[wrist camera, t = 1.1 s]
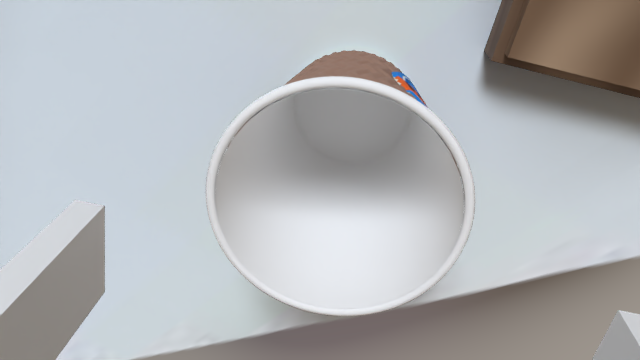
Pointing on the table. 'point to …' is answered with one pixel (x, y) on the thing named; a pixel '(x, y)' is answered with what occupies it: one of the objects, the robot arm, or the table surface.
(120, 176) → the table surface
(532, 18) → the stand
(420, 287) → the coffee cup
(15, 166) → the table surface
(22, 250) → the robot arm
